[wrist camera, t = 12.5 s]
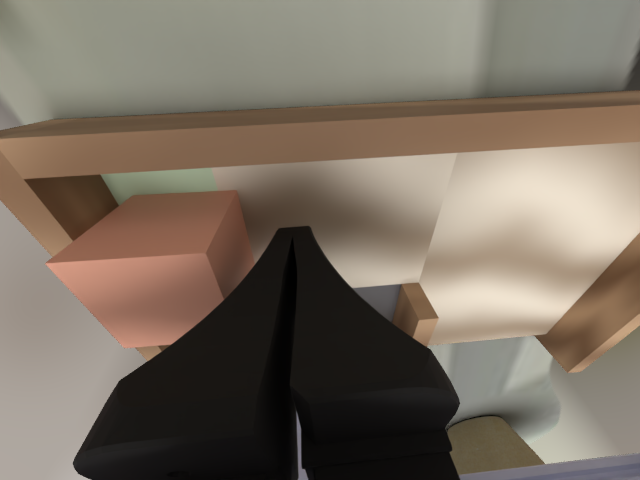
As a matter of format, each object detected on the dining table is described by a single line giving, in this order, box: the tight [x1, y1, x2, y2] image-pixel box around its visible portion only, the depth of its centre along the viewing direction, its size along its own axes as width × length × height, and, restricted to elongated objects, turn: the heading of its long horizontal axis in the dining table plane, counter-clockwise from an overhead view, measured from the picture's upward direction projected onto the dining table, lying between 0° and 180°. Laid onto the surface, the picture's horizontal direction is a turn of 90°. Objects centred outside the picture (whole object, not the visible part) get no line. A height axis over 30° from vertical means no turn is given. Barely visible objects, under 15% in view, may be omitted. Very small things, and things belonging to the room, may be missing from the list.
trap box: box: [0, 90, 640, 373], centre depth 12 cm, size 17×27×3 cm, turn 92°
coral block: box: [45, 190, 255, 348], centre depth 9 cm, size 4×4×4 cm
